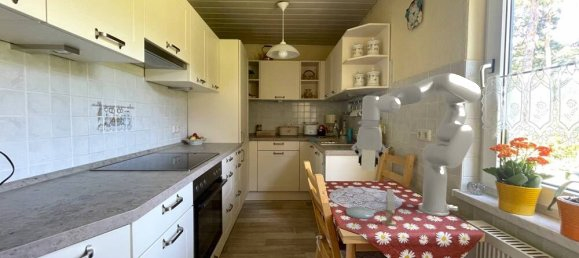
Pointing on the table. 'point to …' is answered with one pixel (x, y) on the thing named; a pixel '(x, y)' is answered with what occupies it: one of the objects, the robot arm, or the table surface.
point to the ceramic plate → (360, 212)
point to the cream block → (368, 160)
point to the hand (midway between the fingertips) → (368, 165)
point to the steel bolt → (390, 200)
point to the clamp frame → (388, 215)
